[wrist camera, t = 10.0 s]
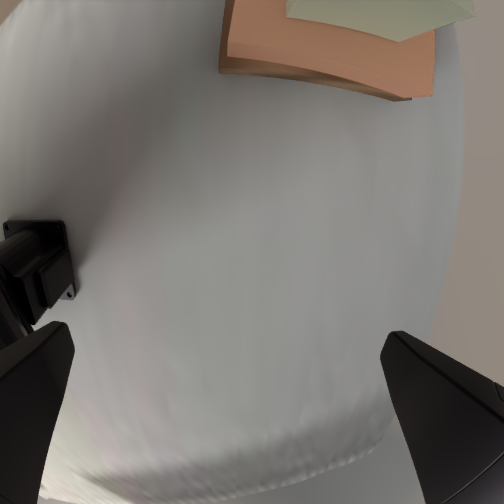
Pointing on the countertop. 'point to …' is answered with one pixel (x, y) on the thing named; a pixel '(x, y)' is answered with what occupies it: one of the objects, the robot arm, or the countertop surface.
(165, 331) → the countertop surface
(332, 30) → the terracotta top brick
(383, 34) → the sage green brick
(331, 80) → the walnut base brick
